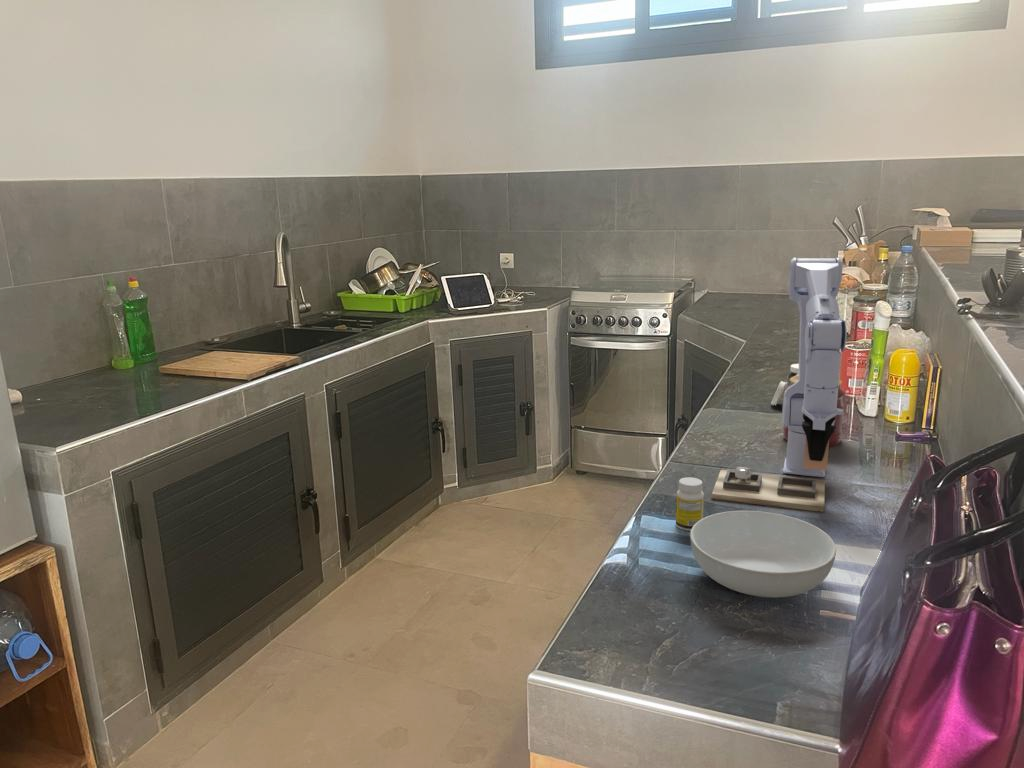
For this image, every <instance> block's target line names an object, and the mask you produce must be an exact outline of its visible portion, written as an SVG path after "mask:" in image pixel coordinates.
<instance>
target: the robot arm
mask: <svg viewBox="0 0 1024 768" xmlns="http://www.w3.org/2000/svg"><path fill="white" fill-rule="evenodd" d="M842 279H843V261H842V259H841V258H840V257H835V258H834V257H833V258H831V257H829V258H827V257H825V258H819V257H817V258H815V257H814V258H811V257H810V258H809V257H808V258H806V257H805V258H803V257H802V258H800V257H799V258H797V257H792V259H790V262H789V268H788V295H789V300H790V301H791V302H793V303H795V304H796V305H797V308H798V311H799V312H798V313H799V338H798V339H799V341H798V342H799V344H798V364H799V372H798V381H797V382H796V383H794V384H793V385H791V386H790V387H788V388H787V389H786V391H785V390H784V393H783V400H782V401H783V402H782V413H781V418H782V419H781V421H782V424H783V425H785V426H786V427H788V441H787V445H786V457H785V458H784V463H783V469H782V473H783V474H786V475H787V474H789V475H796V476H797V475H798V476H799V475H800V476H807V477H817V478H825V476H826V475H825V473H826V472H825V471H824V470H814V469H805V468H804V454H805V441H806V438H807V443H808V452H809V458H810V460H814V461H822V459H823V457H824V454H825V450H826V446H827V443H828V441H829V439H830V437H831V435H832V434H833V432H834V431H835V426H834V422H835V416H836V415H844V409H838V408H837V398H838V385H839V380H840V370H841V361H842V360H841V359H842V353H843V352H844V351H845V348H846V343H847V336H848V335H847V333H848V332H847V329H848V328H847V323H846V320H845V319H844V317H841V315H840V309H839V308H840V307H839V303H838V300H837V296H838V293H839V291H840V286H841V284H842ZM840 350H841V351H840ZM802 397H804V398H802Z"/></svg>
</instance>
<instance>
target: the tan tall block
mask: <svg viewBox="0 0 1024 768" xmlns="http://www.w3.org/2000/svg"><path fill="white" fill-rule="evenodd" d="M829 448H830V447H829V441H828V443H827V446H826V450H825V454H824V457H823V459H822V461H814V460H810V458H809V452H808V443H807V438H806V441H805V454H804V468H805V469H814V470H824V471H828V461H829V460H828V459H829V457H828V456H829Z"/></svg>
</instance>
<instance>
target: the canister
mask: <svg viewBox="0 0 1024 768" xmlns="http://www.w3.org/2000/svg"><path fill="white" fill-rule="evenodd" d="M797 381H798V374H797V375H795V376H793V377H791V378H790V382H791V385H793V384H794V383H796V382H797ZM791 385H789V386H787V387H786V386H785V387H784V392H785V391H786V389H787V388H788V387H790V386H791ZM842 385H843V381H842V380H841V379H839V385H838V398H837V408H838V409H843V410H844V409H845V406H844V403H843V397H844V396H846V391H845V390H844V389H843V388H841V386H842ZM802 398H804V397H802ZM843 415H844V414H843ZM843 415H836V416H835V422H834V426H835V431H834V432H833V434H832V435H831V437H830V439H829V448H830V447H834V446H837V445H838V444H840V443H841V439H842V434H843V431H842V428H843V427H842V426H843V425H842V424H843ZM781 432H782V437H783V439H784V440H786V441H787V442H788V427H786V426H785V425H784V424H783V425H782V431H781Z"/></svg>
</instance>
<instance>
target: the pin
mask: <svg viewBox="0 0 1024 768" xmlns="http://www.w3.org/2000/svg"><path fill="white" fill-rule="evenodd" d="M734 471H735V482H736V483H745V484H751V473H752V469H751V468H750V467H745V466H738V467H736V468H735V470H734Z"/></svg>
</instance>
